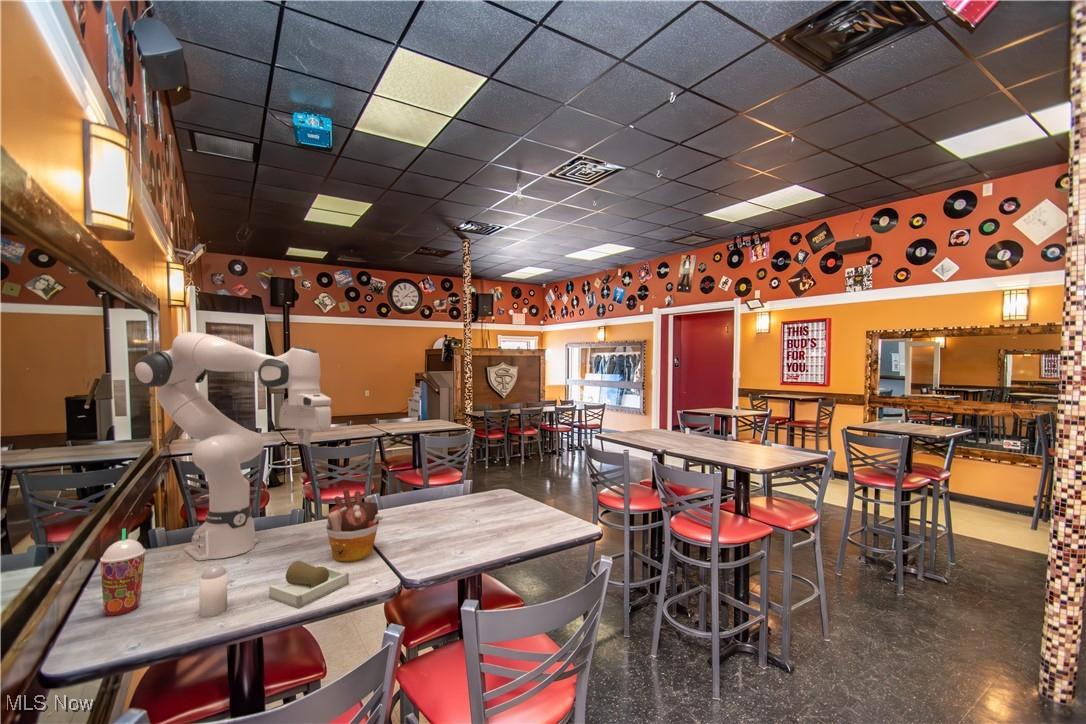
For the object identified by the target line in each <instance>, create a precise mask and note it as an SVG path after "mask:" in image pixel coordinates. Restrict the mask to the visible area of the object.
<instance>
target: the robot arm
mask: <svg viewBox="0 0 1086 724" xmlns="http://www.w3.org/2000/svg"><path fill="white" fill-rule="evenodd" d="M210 371H212V372H223V373H224V372H225V373H227V372H256V373H257V375H258V380H259V382H260V383H261V384H262V385H263V386H264V387H266V388H270V389H288V397H287V398H285V399H284V401H283V402H282V405H281V406H280V409H279V419H278V424H279V427H280V428H281V429H282V428H283V429H293V430H294V429H295V433H296V437H297V439H298V440H297V441H298V444H299V445H309V444H310V443H311V442H310V438H311V437H312V434H313V431H320V432H321V431H328V430H329V429H331V425H332V409H331V407H330V406H331V404H332V398H331V397H329V396H327V395H325V394H324V393H322V392H321V386H320V379H321V358H320V354H319V352H318V351H317V350H316V349H313V348H310V347H302V346H293V347H291V348H290V349H289V350H288V351H287V352H284V353H282V354H280V355H278V356H275V355H270V354H267V353H263V352H260V351H256V350H253V349H251V348H248V347H246V346H243V345H240V344H238V343H236V342H233V341H230V340H228V339H226V338H223V337H221V336H217V335H213V334H208V333H203V332H197V331H196V332H194V331H185V332H181V333H180V334H178V335H177V336H176V337H174V339H173V341H172V344H171V348H170V349H168V350H157V351H154V352H150V353H148V354H146V355H144V356H141V357H140V358H137V360H136V361H135V363H134V366H133V374H134V377H135V378H136V380H137V381H138V382H139V383H140V384H141V385H143V386H144V387H149V388H157V387H159V389H158V390H157V393H156V399H157V401H158V403H159V404H160V406H161V407H162V409H163V410H164V412H165V413H166V414H167V415H168V416H169V418H170V419H171V420H173V422H175V424H177V425H178V426H179V427H180V428H181V429H182V431H184V432H185V433H186V434H187V435H188V436H189V437H190V438H192V439H195V440H196V439H197V440H200V442H198V443H197V444H196V445H195V447H194V448H193V450H192V454H191V455H192V456H191V457H192V461H193V463H194V465H195V466H196V467H197V468H199V469H200V470H201V471H202V472H203V473H204V475H205V478H206V482H207V485H208V491H209V492H208V496H209V502H208V503H209V504H208V505H209V507H208V508H209V509H206V513H205V514H206V516H205V521H204V523H202V524H201V525H200V526H199V527H198V528H197V529H196V530H195V531H194V533H193V535H192V536H191V542H192V543H190V544H188V545H186V546H185V547H184V548H183V549H184V552H185V553H187V554H188V555H189V556H190V557H192V558H193V559H194V560H195V561H205V560H213V559H214V560H215V559H225V558H229V557H235V556H238V555H242V554H244V553H247V552H249V551H252V549H254V548H255V545H256V544H258V543H259V538H258V537H256V531H255V521H254V519H253V518H252V517H251V516H252V506H251V504H250V481H249V480H248V478H246V477H244V475H243V472H242V469H241V464H243V463H246V462H250V461H251V460H254V459H255V458H257V456H258V455H260V454H261V453H262V451H263V449H264V446H265V445H264V439H263V437H262V436H261V434H260V433H258V432H256V431H253V430H249V429H248V428H245V427H244V426H242V425H241V424H239V423H237V422H236V421H234V420H232V419H230V418H229V417H228V416H226V415H225V414H224V413H222V412H221V411H220V410H219V409H218V408H217V407H215V405H214V404H212V402H210V401H209V400H208V398H207V397H205V396H204V395H203V394H202V393H201V392H200V391H199V389H198V388H197V386H196V384H199V383H202V382H204V380H205V378H206V376H207V375H208V374H209V372H210Z"/></svg>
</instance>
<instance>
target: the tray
mask: <svg viewBox="0 0 1086 724" xmlns="http://www.w3.org/2000/svg"><path fill="white" fill-rule="evenodd" d="M317 567H325V568H327V569H328V571H329V579H328V581H327V582H324V583H322V584H320V585H318V586H316V587H313V586H311V585H310V584H290V585H287V586H286V587H284V588H283V587H282V586H281V587H280V586H277V585H275V584H272V585H269V587H268V598H269V599H271V600H274V601H277V602H280V603H282V604H284V605H288V606H290V607H293V608H296V609H300V608H303V607H304V606H307V605H309V604H311V603H314V602H315V601H317V600H318V599H321V598H323V597H326V596H327V595H329V594H331V593H333V592H336V591H337V590H340V589H342V588H344V587H346V586H348V585H349V583H350V582H349V580H350V579H349V574H350V573H349V572H346V571H343V570H339V569H335V568H332V567H329V566H325V565H321V564H319V565H317V566H316V568H317Z"/></svg>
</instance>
